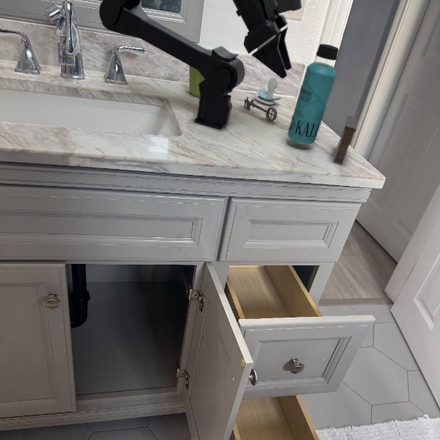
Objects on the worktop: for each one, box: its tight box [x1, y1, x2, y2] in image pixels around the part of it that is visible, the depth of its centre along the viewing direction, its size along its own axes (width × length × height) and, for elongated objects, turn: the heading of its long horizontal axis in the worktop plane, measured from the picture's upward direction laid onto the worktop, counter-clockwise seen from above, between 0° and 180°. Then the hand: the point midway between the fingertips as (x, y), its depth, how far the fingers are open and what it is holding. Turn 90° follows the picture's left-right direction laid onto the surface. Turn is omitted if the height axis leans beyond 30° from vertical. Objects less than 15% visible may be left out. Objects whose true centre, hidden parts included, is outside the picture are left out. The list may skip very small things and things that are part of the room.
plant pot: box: [188, 65, 205, 98], centre depth 109 cm, size 9×9×9 cm
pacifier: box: [254, 77, 282, 106], centre depth 115 cm, size 7×6×6 cm
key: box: [243, 96, 278, 122], centre depth 105 cm, size 12×1×3 cm, turn 39°
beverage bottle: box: [287, 43, 340, 145], centre depth 88 cm, size 6×7×20 cm
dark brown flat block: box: [333, 114, 358, 165], centre depth 91 cm, size 2×9×8 cm, turn 164°
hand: (287, 73), depth 86 cm, fingers open, 9 cm apart
